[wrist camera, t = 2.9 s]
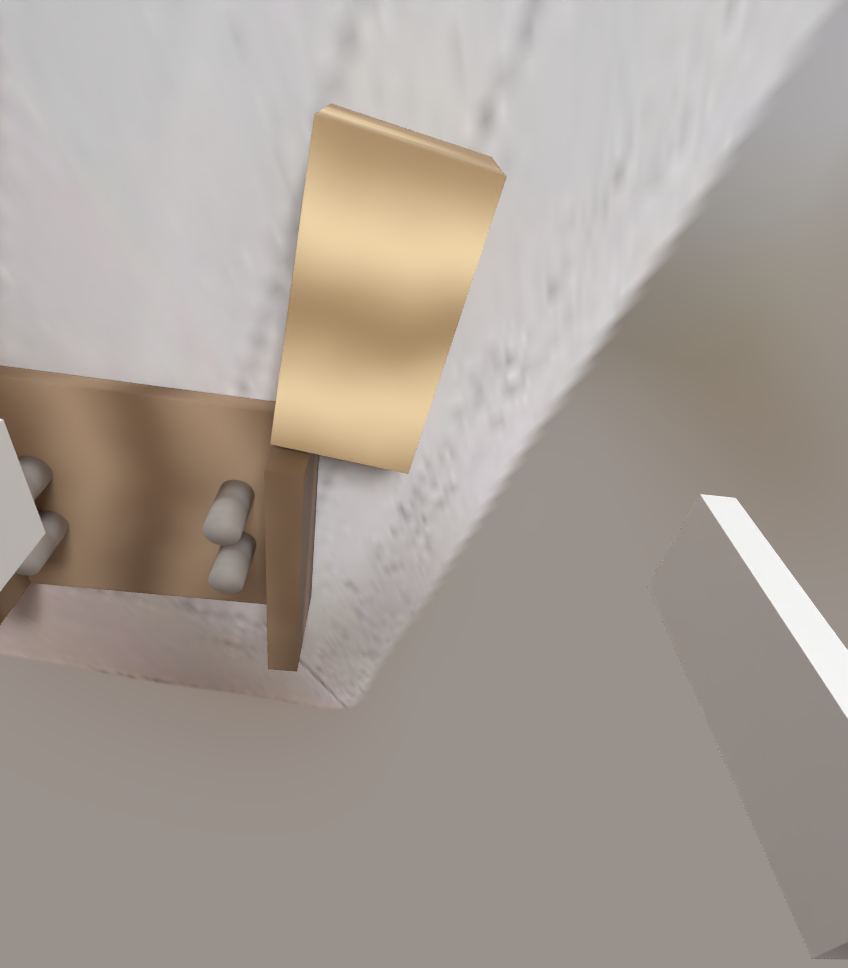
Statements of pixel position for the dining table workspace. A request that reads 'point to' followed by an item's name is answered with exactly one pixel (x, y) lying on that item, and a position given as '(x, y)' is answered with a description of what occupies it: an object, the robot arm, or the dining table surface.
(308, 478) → the peg frame
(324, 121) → the light wooden block
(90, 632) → the dining table surface
